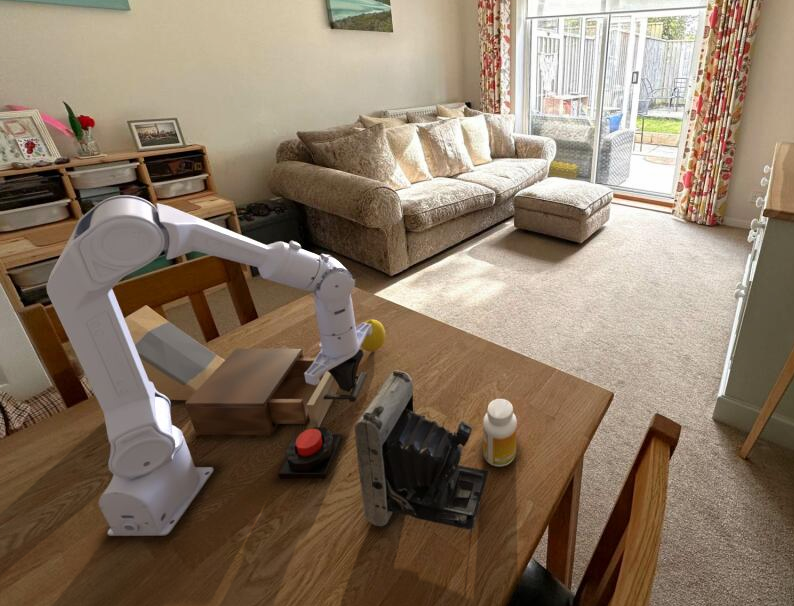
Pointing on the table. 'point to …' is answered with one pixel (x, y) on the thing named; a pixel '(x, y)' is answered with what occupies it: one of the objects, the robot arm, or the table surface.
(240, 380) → the wooden drawer cabinet
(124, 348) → the robot arm
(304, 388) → the wooden drawer
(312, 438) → the release button
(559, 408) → the table surface
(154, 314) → the sandwich container
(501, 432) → the supplement bottle
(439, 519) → the vintage camera
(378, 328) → the lemon
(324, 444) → the black button housing
